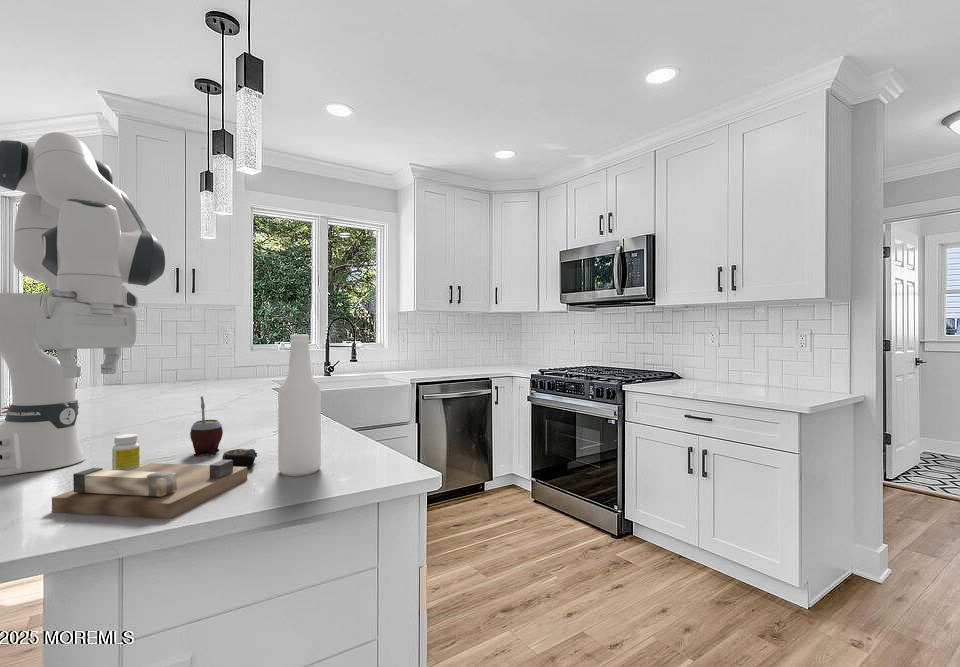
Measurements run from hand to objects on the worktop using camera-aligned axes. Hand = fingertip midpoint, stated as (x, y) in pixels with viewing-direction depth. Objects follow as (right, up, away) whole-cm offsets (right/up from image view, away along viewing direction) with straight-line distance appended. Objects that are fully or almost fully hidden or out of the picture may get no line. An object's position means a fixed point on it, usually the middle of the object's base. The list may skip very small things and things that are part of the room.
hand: (91, 375), depth 86 cm
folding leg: (+4, -20, +3) cm, 21 cm away
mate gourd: (-2, -23, +40) cm, 46 cm away
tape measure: (+12, -23, +29) cm, 39 cm away
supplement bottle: (-9, -23, +22) cm, 33 cm away
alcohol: (+26, -23, +25) cm, 43 cm away
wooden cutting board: (+5, -23, +10) cm, 26 cm away
